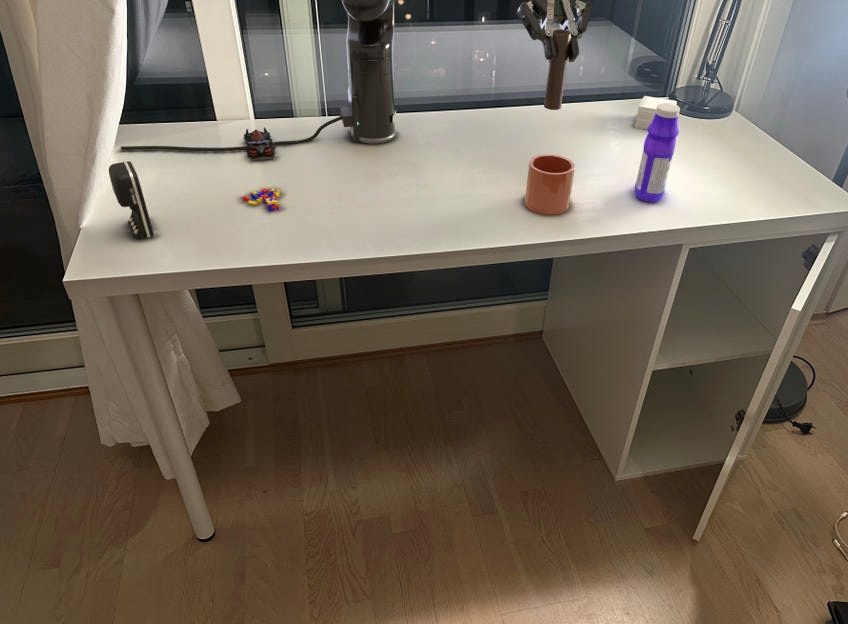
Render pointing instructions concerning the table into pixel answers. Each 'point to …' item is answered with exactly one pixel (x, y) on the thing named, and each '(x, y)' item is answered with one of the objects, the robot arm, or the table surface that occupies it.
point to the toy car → (259, 145)
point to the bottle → (657, 153)
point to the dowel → (557, 70)
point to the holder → (549, 184)
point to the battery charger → (131, 197)
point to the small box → (648, 111)
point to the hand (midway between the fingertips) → (563, 59)
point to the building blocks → (270, 202)
